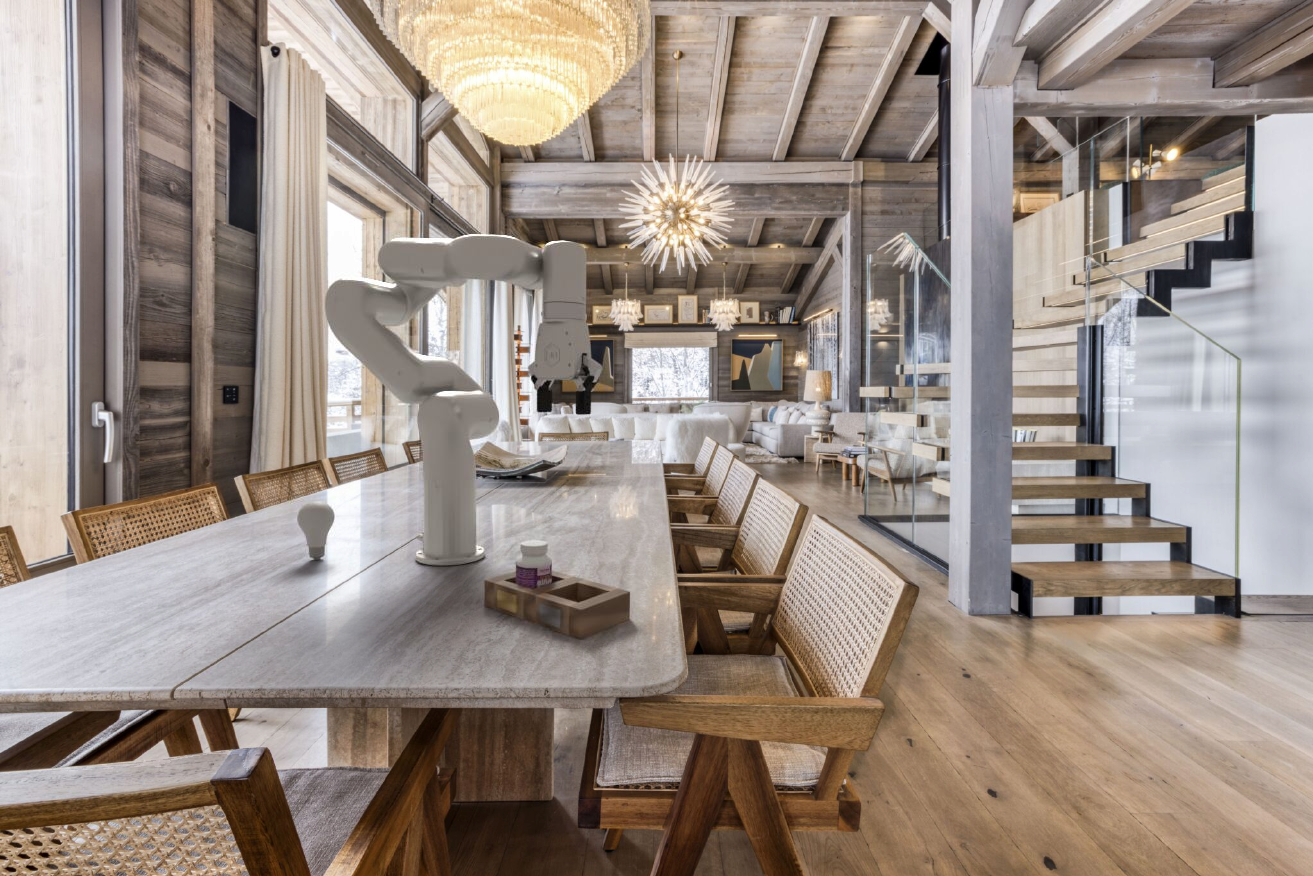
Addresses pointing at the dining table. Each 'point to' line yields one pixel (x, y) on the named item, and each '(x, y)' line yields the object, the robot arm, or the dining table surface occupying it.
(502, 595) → the socket block
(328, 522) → the lightbulb
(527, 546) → the pill bottle
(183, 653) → the dining table surface
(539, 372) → the robot arm
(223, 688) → the dining table surface
